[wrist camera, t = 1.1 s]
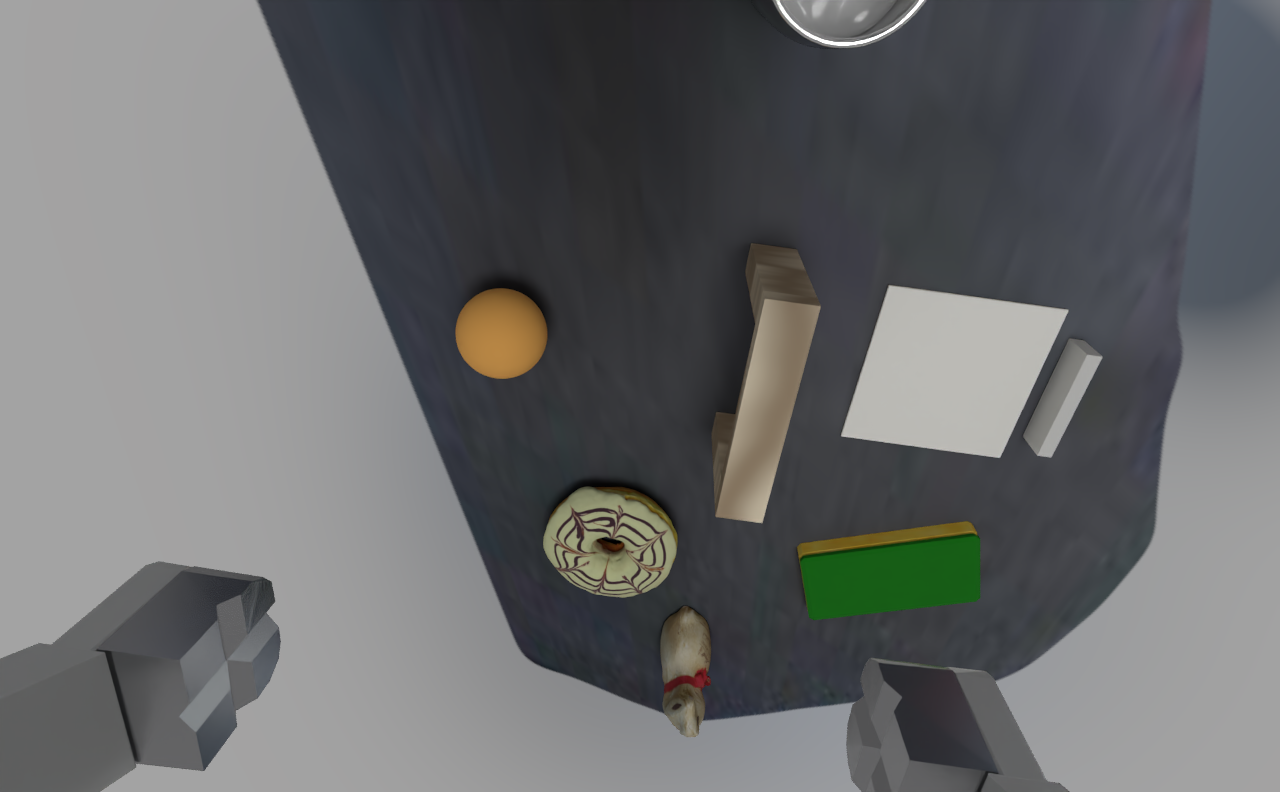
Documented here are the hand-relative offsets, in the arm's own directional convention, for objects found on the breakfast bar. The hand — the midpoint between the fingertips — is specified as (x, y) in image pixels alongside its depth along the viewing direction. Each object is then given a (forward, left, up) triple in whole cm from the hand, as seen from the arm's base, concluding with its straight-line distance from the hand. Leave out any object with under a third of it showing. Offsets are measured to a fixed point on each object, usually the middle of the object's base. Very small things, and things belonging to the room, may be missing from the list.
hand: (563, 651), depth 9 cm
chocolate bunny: (+43, +8, -38) cm, 58 cm away
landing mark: (+13, +22, -38) cm, 46 cm away
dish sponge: (+31, +23, -39) cm, 55 cm away
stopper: (+13, +30, -38) cm, 50 cm away
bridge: (+13, +8, -38) cm, 41 cm away
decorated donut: (+31, 0, -39) cm, 49 cm away
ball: (+13, -9, -35) cm, 38 cm away
